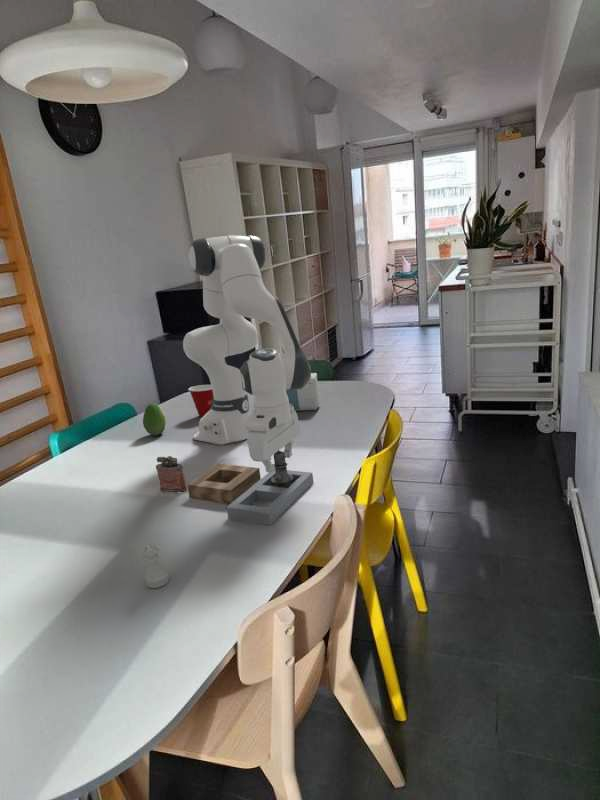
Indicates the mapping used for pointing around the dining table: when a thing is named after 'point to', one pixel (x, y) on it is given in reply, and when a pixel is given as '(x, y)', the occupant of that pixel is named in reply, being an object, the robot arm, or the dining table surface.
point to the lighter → (170, 475)
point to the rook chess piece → (154, 568)
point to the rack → (269, 498)
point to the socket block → (223, 483)
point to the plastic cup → (202, 398)
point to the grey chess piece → (281, 471)
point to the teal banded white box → (305, 395)
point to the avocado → (153, 420)
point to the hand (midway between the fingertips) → (279, 463)
